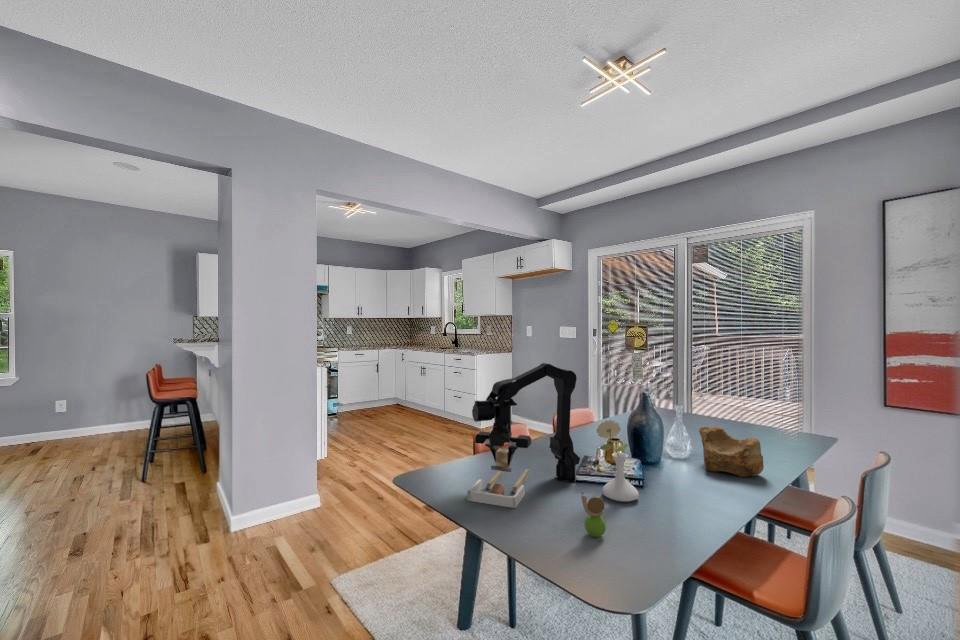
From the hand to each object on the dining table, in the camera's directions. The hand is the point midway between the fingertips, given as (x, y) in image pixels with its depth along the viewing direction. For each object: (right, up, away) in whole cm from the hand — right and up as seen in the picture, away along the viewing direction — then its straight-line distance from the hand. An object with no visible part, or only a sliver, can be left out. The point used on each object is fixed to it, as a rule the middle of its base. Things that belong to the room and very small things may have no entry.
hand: (502, 464), depth 143 cm
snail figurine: (+22, -8, -32) cm, 40 cm away
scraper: (0, -1, 0) cm, 1 cm away
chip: (-3, -8, -8) cm, 12 cm away
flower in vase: (+37, -8, -7) cm, 39 cm away
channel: (+3, -8, +7) cm, 11 cm away
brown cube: (-2, -8, -5) cm, 10 cm away
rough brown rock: (+85, -8, +16) cm, 87 cm away
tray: (-3, -8, -7) cm, 11 cm away
